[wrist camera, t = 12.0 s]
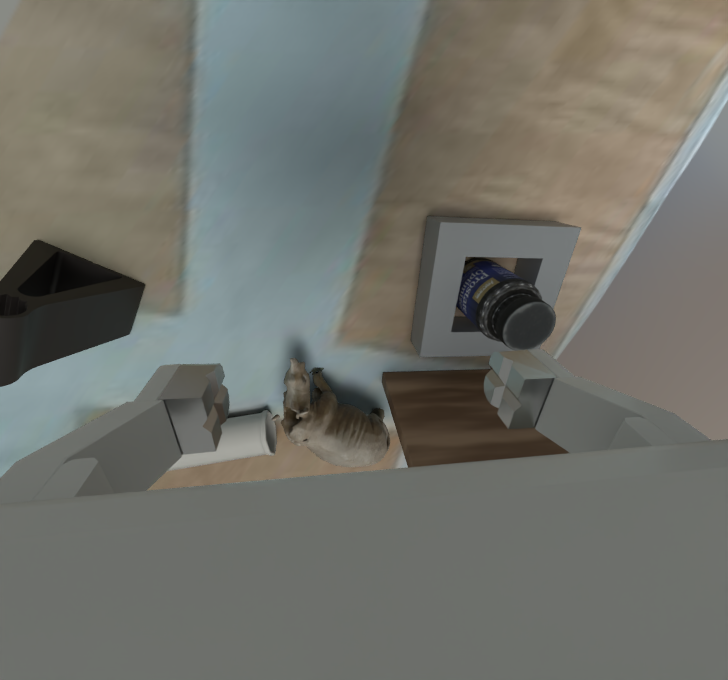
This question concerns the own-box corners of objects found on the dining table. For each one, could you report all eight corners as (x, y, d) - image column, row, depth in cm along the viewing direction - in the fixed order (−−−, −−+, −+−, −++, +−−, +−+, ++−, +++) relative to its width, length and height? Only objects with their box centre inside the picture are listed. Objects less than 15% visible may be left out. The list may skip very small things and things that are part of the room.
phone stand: (27, 295, 31) (-117, 360, 21) (38, 238, 29) (-116, 280, 19) (130, 333, 34) (50, 406, 24) (146, 284, 32) (66, 342, 22)
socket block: (427, 216, 33) (440, 222, 29) (554, 221, 35) (581, 227, 31) (410, 340, 39) (419, 357, 36) (518, 338, 41) (537, 354, 38)
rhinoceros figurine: (362, 466, 45) (324, 523, 30) (299, 390, 47) (236, 408, 33) (404, 429, 44) (386, 470, 29) (338, 353, 46) (290, 355, 31)
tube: (64, 498, 39) (276, 462, 40) (28, 482, 35) (263, 443, 36) (84, 455, 43) (277, 423, 44) (53, 436, 39) (266, 402, 40)
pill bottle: (458, 252, 35) (513, 286, 25) (508, 262, 36) (578, 298, 27) (440, 305, 38) (483, 354, 28) (487, 313, 39) (544, 362, 29)
